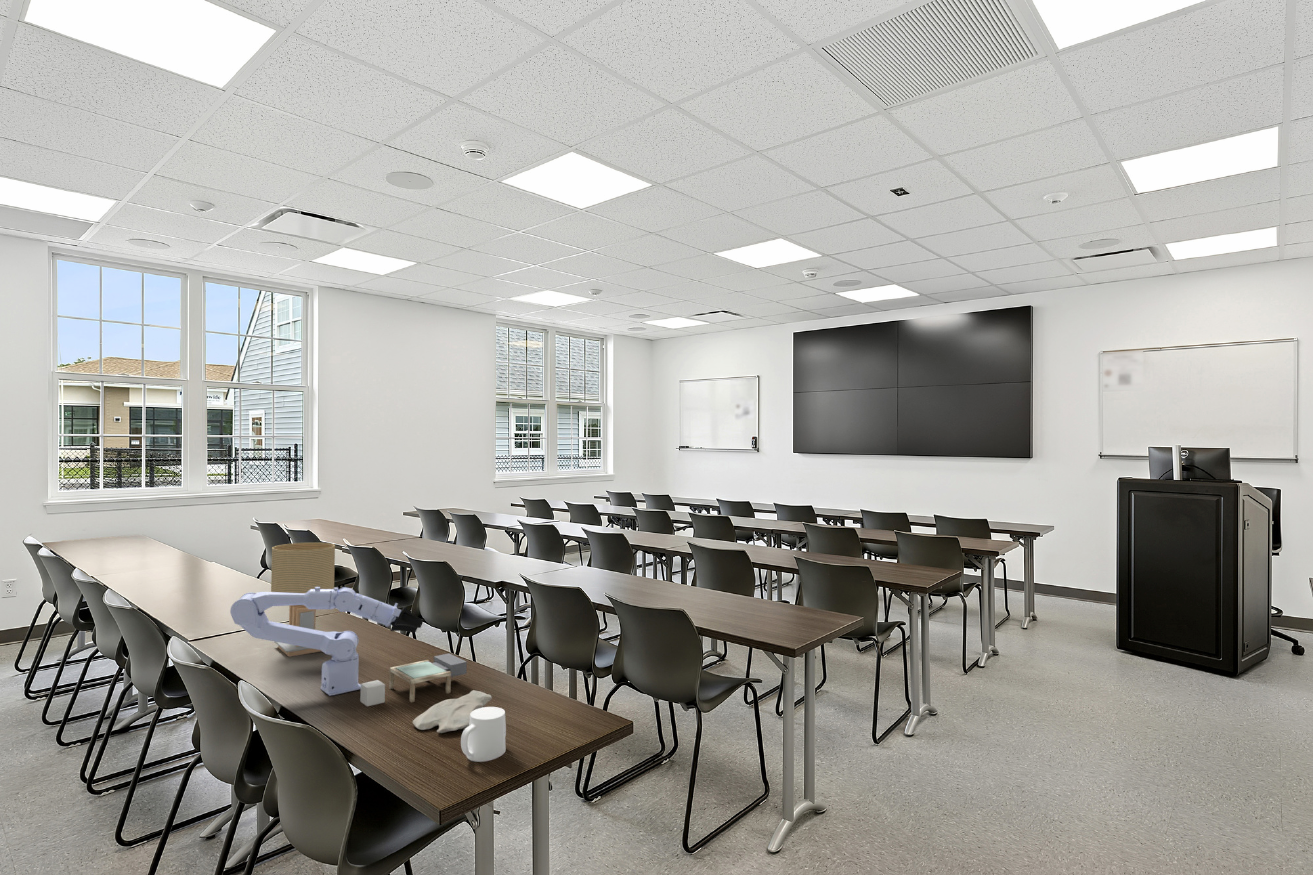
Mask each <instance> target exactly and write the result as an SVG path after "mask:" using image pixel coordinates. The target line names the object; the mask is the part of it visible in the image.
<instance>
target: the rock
mask: <svg viewBox="0 0 1313 875" xmlns="http://www.w3.org/2000/svg"><path fill="white" fill-rule="evenodd" d="M492 699H493V697H492V695H491V694H487V693H486V692H483V691H479V690H474V689H473V690H471V691H470V692H469V693H467V694H465V695H462V696H460V697H458V698H449V699H445V700H442V701H439V702H438V703H435V704H433V705H432V706H430V707H429V708H428V709H426V710H425V711H424V712H423V713H421V714H418V716H416V717H415V718H414V719H413V720H412V725H414V727H415V728H416V729H418V730H421V731H425V730H430V729H433V728H435V727H437V726H438V729H437V730H436V732H437V733H439V734H444V733H445V734H446V733H447V732H448V733H449V732H452V731H453V732H454V731H457V730H462V729H463V730H464V729H466V728H467V727H468V726H469V722H470V713H471V712H472V711H474V710H476V709H479V708H483V707H485V706H486V705H487V703H489V702H490V701H491V700H492Z"/></svg>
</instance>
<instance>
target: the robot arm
mask: <svg viewBox="0 0 1313 875" xmlns="http://www.w3.org/2000/svg"><path fill="white" fill-rule="evenodd" d="M289 605H304V606H306V607H307V608H308V609H316V610H333V609H336V610H338V611H339V612H341V613H344V612H345V613H346V612H349V613H352V614H354V615H357V616H360V617H362V618H365V619H368V620H370V621H373V622H375V623H378V624H381V625H384V626H385V627H387V628H388V627H390V626H391V628H390V632H397V631H398V632H408V633H416V632H417V630H418V629H421V628H422V625H423V622H424V620H422V619H421V618H420V617H418V616H417V615H415V614H414V613H412V611H410V610H409V609H408V607H406V606H403V608H402V609H400V608H398V605H399V603H397V602H395V603H394V605H391V604H389V603H386V602H383V601H380V600H378V599H374V598H372V597H369V596H367V595H363V594H361V593H359V592H358V593H357V592H356V591H355V590H354V589H353V588H351V587H346V586H343V587H341V588H339V587H334V589H320V587H315V589H310V590H309V591H308V592H307V593H284V592H271V591H257V592H246V593H244V594H243V595H242V596H241V597H240V598H239V599H237V600H236V601H234V602H233V604H232V605H231V606H230V616H231V618H232V620H233V622H234V624H235V625H237V626H240V627H241V628H242V629H243V630H244V631H246V632H247V633H248V634H249V635H250V636H251V637H252V638H255V639H258V640H265V641H270V642H274V641H275V642H280V643H285V644H291V645H296V646H302V647H307V648H312V649H318V650H321V651H320V652H323V654H325V655H329V656H331V659H329V660H326V661H324V662H322V664H321V665H322V666H321V680H320V681H321V682H320V683H321V686H320V688H319V689H320V690H321V691H323V693H325V694H327V695H328V696H329V697H330V696H337V695H340V694H344V693H348V692H354V691H357V690H361V683H359V664H360V663H359V662H360V660H359V658H360V657H359V656H360V655H359V653H358V652H357V647H358V645H359V641H360V640H359V636H358V635H357V633H355V631H352V630H344V631H335V630H334V631H324V630H319V629H318V630H317V629H315V630H313V629H308V628H303V627H298V626H293V625H289V624H287V623H281V622H277V621H276V622H275V621H272V620H270V619H269V618H268V616H267V614H266V612H265V611H266V610H268V609H270V608H272V607H280V606H281V607H283V606H284V607H285V606H286V607H287V606H289ZM275 642H274V643H275Z"/></svg>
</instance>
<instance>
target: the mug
mask: <svg viewBox="0 0 1313 875" xmlns="http://www.w3.org/2000/svg"><path fill="white" fill-rule="evenodd" d="M506 722H507V721H506V711H505V709H503V708H502V707H496V706H483V708H479V709H476V710H474V711H472V712H471V713H470V722H469V726H468V727H466V728H464V729H463V731H462V734H461V736H460V747H461V751H462V753H463V754H464V755H465V756H466V758H467V759H468V761H471V762H476V763H477V762H481V763H482V762H488V761H492V760H495V759H498V758H499V757H501V756H503V755H504V754H505V752H506V750H507V749H506V748H507V747H506V742H507V740H506V736H507V724H506Z"/></svg>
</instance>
